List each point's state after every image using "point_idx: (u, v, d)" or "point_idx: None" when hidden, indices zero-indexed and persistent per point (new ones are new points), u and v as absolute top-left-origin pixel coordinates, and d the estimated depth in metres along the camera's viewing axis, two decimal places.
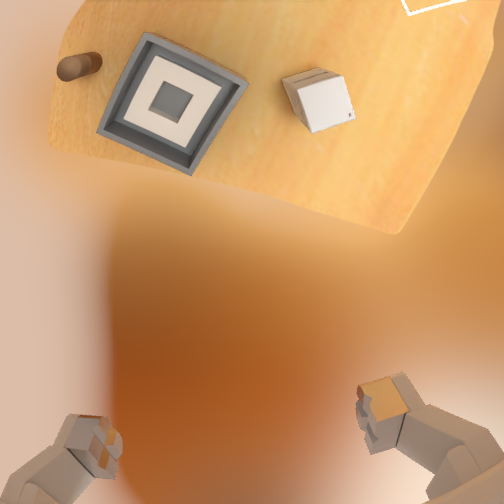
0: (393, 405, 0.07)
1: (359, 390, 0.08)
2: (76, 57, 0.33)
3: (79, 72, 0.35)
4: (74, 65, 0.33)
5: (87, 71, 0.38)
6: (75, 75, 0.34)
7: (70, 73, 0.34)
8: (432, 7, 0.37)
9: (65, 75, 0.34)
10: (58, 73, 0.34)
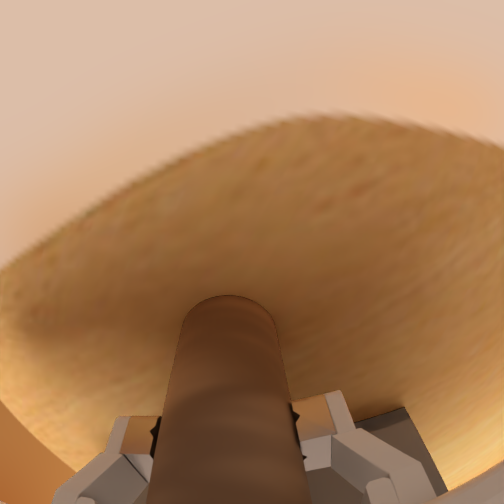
0: (320, 425, 0.07)
1: None
2: None
3: None
4: None
5: None
6: None
7: None
8: None
9: None
10: None
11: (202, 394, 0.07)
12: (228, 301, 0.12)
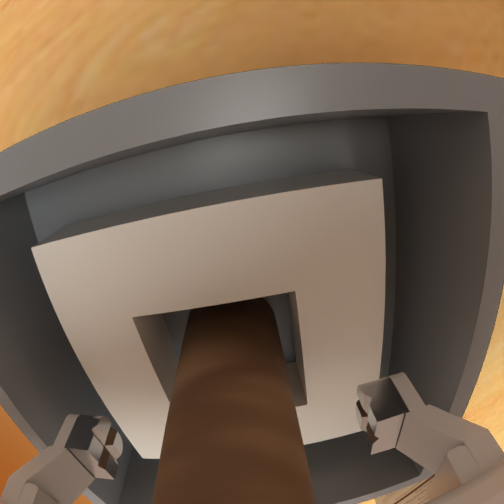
0: (393, 405, 0.07)
1: (359, 390, 0.08)
2: None
3: None
4: None
5: None
6: None
7: None
8: None
9: None
10: None
11: (209, 373, 0.08)
12: None
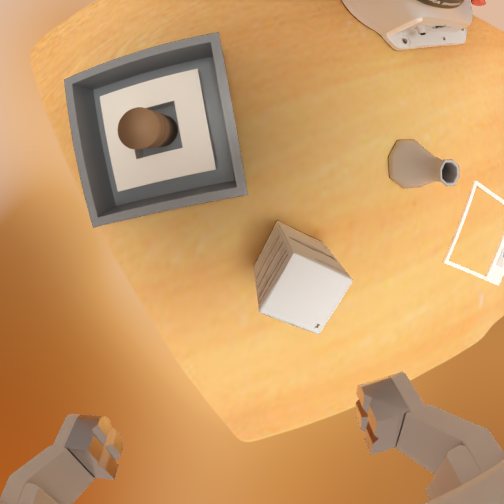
0: (393, 405, 0.07)
1: (359, 390, 0.08)
2: (159, 126, 0.26)
3: (142, 148, 0.27)
4: (147, 134, 0.26)
5: None
6: (135, 147, 0.26)
7: (133, 137, 0.26)
8: (468, 271, 0.45)
9: (126, 131, 0.26)
10: (123, 118, 0.25)
11: None
12: None
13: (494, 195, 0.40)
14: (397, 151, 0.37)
